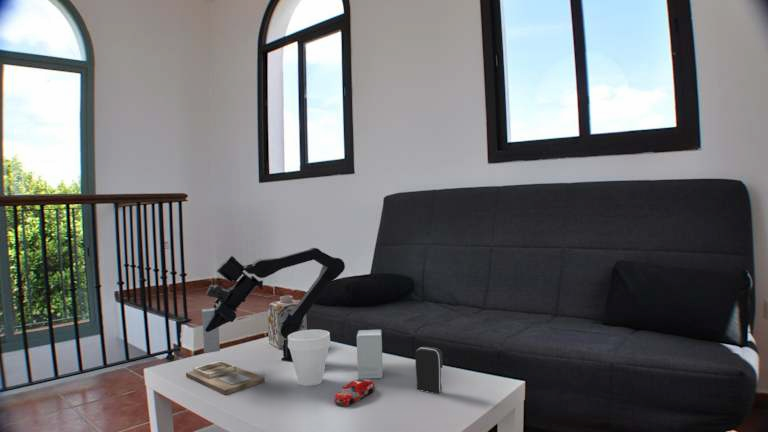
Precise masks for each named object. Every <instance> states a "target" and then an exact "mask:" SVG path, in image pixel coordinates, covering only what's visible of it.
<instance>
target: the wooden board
mask: <svg viewBox="0 0 768 432" xmlns="http://www.w3.org/2000/svg"><path fill="white" fill-rule="evenodd" d="M192 369H193V370H192V371H186V372H185V377H186V378H188V379H190V380H193V381H195V382H197V383H199V384H200V385H203V386H205V387H206V388H207V387H208V388H210V389H212V390H214V391H216V392H218V393H220V394H223V395H228V394H231V393H235V392H237V391H241V390H244V389H246V388H251V387H253V386H256V385H259V384H261V383H265V381H266V378H265V377H264V376H262V375H259V374H256V373H254V372H251V371H249V370H245V369H243V368H240V367H237V366H236V365H233V364H231V363H228V362H226V361H224V360H223V361H222V360H219V361H215V362H212V363H208V364H207V363H206V364H204V365H201V366H200V365H199V366H197V367H193V368H192Z"/></svg>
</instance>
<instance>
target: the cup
mask: <svg viewBox="0 0 768 432" xmlns="http://www.w3.org/2000/svg"><path fill="white" fill-rule="evenodd" d="M330 334H331V333H330V331H328V330H324V329H307V330H302V331H297V332H294V333H291V334H289V335H288V348H289V349H290V353H291V356H292V360H293V361H292V364H293V367H294V370H295V374H296V378H297V381H298V384H299V385H301V386H305V387H309V386H311V387H312V386H316V385H319V384H321V383H323V380H324V379H323V378H324V373H325V368H326V363H327V359H328V353H329V348H330V346H331V335H330Z"/></svg>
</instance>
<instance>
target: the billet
mask: <svg viewBox="0 0 768 432" xmlns="http://www.w3.org/2000/svg"><path fill="white" fill-rule="evenodd" d="M215 309H216V308H214V307H211V308H202V309H201V314H202V315H201V319H202V335H203V336H202V339H203V341H202V342H203V354H208V353H209V354H210V353H214V352H221V351H220V332H219V331H220V329H219V327H220V326H219V327H217V328H215V329H213V330H211V331H209V332H206V331H205V329H206V328H207V326H208V325H209V323H210V322H211V320H212V318H213V317H214V315H215Z"/></svg>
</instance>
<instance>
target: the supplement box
mask: <svg viewBox="0 0 768 432" xmlns="http://www.w3.org/2000/svg"><path fill="white" fill-rule="evenodd" d="M382 335H383V334H382V329H362V330H361V329H359V330H358V331H357V333H356V356H357V357H356V359H357V380H358V379H360V380H362V379H383V370H384V369H383V340H382V339H383V337H382Z"/></svg>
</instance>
